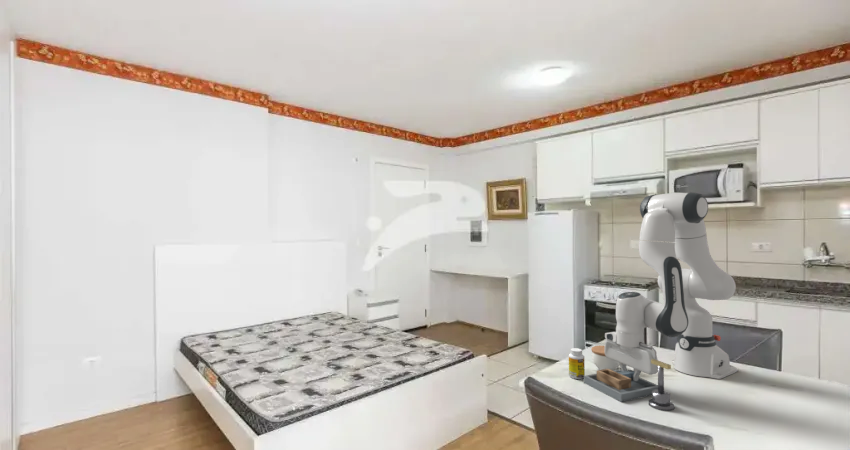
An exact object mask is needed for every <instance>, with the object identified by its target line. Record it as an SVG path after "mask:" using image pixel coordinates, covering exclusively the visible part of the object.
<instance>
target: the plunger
mask: <svg viewBox="0 0 850 450" xmlns="http://www.w3.org/2000/svg"><path fill="white" fill-rule="evenodd" d="M651 363H652V364H655V365H657V366H658V372H657V385H658V390H653V391H652V396H651V398H649V399H648V406H650V407H651V408H653V409H655V410H659V411H662V412H663V411H665V412H669V411H674V410H675V404H674V403H673V402H672V401H671V393H670V392H668V391H666V390H665V378H664V377H665V373H664V372H665V369H666V370H671V369H672V365H671V364H669V363H666V362H664V361H662V360H655V359H651Z"/></svg>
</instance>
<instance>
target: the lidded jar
mask: <svg viewBox="0 0 850 450" xmlns="http://www.w3.org/2000/svg"><path fill="white" fill-rule="evenodd" d="M590 349H591V358H592V362H593V364H594V365H595V367H596V368H597V369H598V370H603V369H610V370H612V371H614V370H618V368H620V363H619V362H617V361H614V360H612V359H609V358H607V357H606V355H605V345H595V346H592V347H591V348H590Z"/></svg>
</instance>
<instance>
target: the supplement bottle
mask: <svg viewBox="0 0 850 450" xmlns="http://www.w3.org/2000/svg"><path fill="white" fill-rule="evenodd" d="M585 373H586V372H585V355H584V354H583V349H581V348H578V347H576V348H575V347H572V348H570V353H569V354H568V376H569V377H570V378H571V379H575V380H584V376H586V375H585Z"/></svg>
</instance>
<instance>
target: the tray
mask: <svg viewBox="0 0 850 450" xmlns="http://www.w3.org/2000/svg"><path fill="white" fill-rule="evenodd" d="M614 371H615V372H621V371H622V370H621V368H620V369H615V370H614ZM583 384H585V385H588V387H591V388H593V389H595V390H597V391H599V392H601V393H603V394H605V395H606V396H609V397H611V398H613V399H614V400H616V401H618V402H620V403H624V402H628V401H634V400H638V399H643V398H647V397H652V391H653V390H658V384H656V383H653V382H651V381H648V380H647V379H644V378H641V377H639V380H638V381H632V382H631V388H626V389H621V390H618V389H616V388H614V387H612V386H610V385H608V384H606V383H604V382H602V381H600V380H598V379H597V373H593V374H586V375H585V376H584V378H583Z"/></svg>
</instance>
